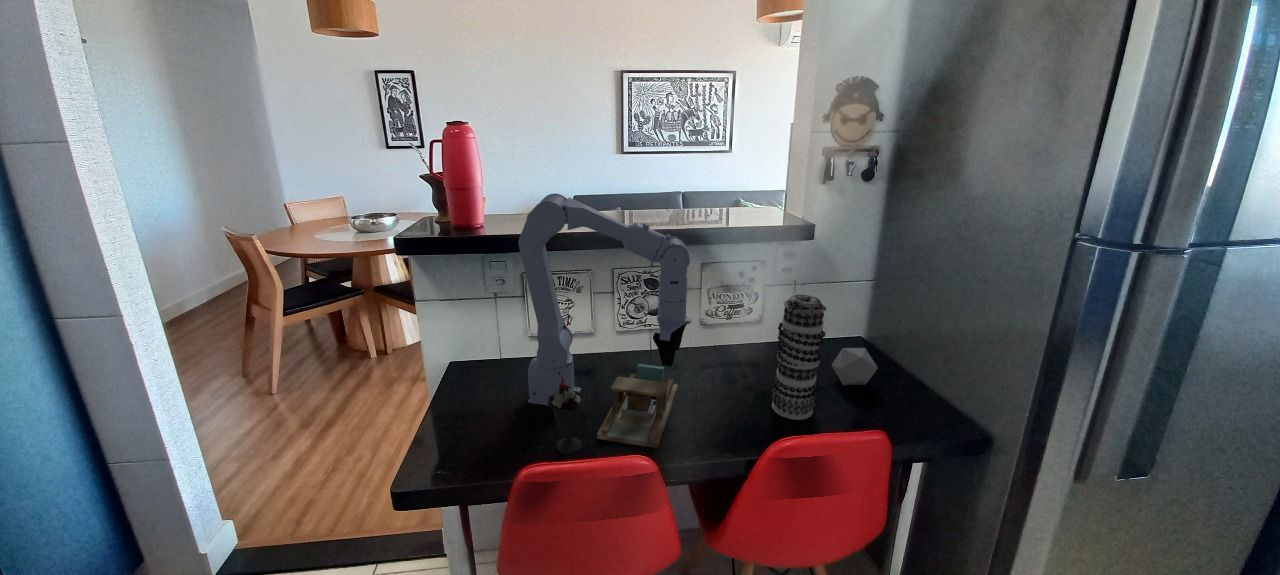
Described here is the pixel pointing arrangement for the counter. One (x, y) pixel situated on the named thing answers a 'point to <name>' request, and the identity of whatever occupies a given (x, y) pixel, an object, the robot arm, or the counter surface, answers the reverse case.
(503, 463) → the counter surface
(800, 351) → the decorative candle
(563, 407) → the sundae
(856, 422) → the counter surface
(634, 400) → the walnut block
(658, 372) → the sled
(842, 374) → the die
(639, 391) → the tunnel board
